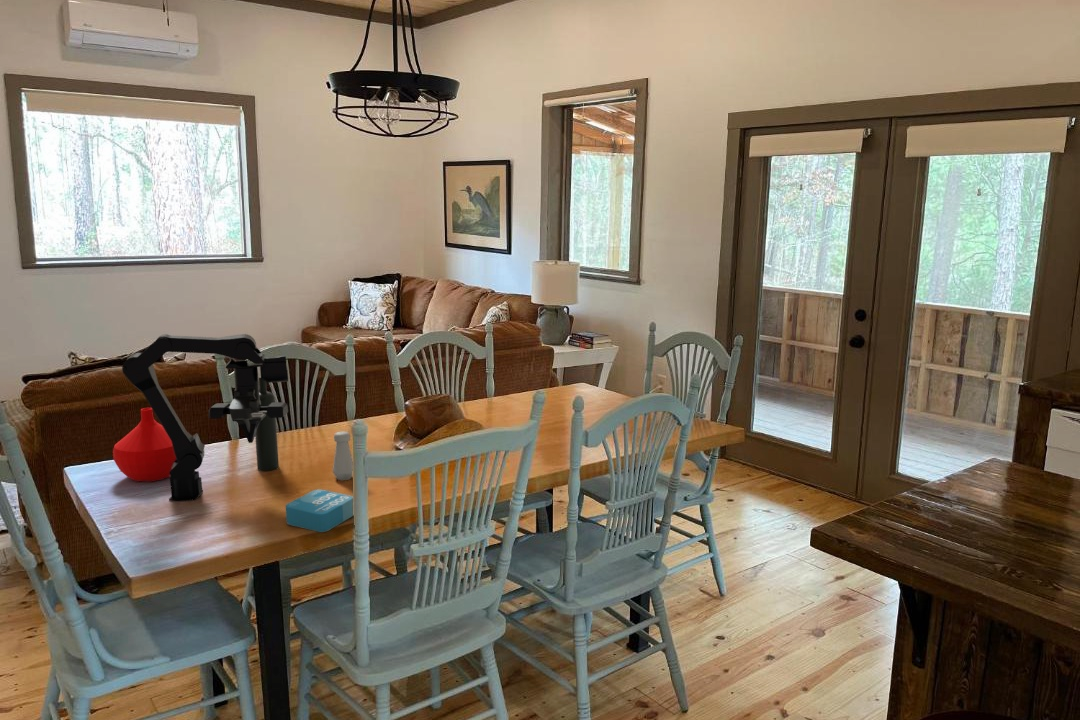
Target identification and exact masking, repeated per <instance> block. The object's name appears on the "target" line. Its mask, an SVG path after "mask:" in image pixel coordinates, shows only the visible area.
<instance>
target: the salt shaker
mask: <svg viewBox="0 0 1080 720" xmlns="http://www.w3.org/2000/svg"><path fill="white" fill-rule="evenodd" d="M333 438H334V440H333V441H334V442H336V443H335V450H334V452H335V453H334V459H333V467H332V473H333V475H334V476H335V479H336V480H337V479H338V480H337V481H343V480H345V481H348V480H351V479H352V477H353V475H352V471H353V465H354V461H353V458H352V453H351V449H350V448H351V447H350V443H349V441H350V440H351V435H350V433H349V431H343V430H342V431H338V432H335V433H334V434H333Z"/></svg>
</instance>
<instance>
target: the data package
mask: <svg viewBox="0 0 1080 720" xmlns="http://www.w3.org/2000/svg"><path fill="white" fill-rule="evenodd" d="M353 502H354V497H353V496H352V495H349V494H344V493H340V492H334V491H330V490H324V489H314V490H311V491H310V492H307V493H306V494H303V495H302V496H300V497H298V498H296V499H294V500H292V501H290V502H288V503H287V504H286V505H285V515H286V517H285V518H286V524H288V525H289V526H293V527H297V528H300V529H301V528H302V529H305V530H309V531H313V532H317V533H325V532H329V531H330V530H332V529H333V528H335V527H337V526H339V525H340V524H342V523H344V522H345V521H347V520H348V519H350V518H352V517H353V516H354V515H353Z"/></svg>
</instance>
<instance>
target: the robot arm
mask: <svg viewBox="0 0 1080 720" xmlns="http://www.w3.org/2000/svg"><path fill="white" fill-rule="evenodd" d="M167 353H190V354H211V355H212V354H213V355H221V356H223V357H227V358H230V359H229V361H228V362H227V363H226V364H225V369H227V370H229V369H233V375H234V388H235V389H234V390H233V398H232V401H231V403H230V402H227V403H224V402H223V403H221V402H220V403H215V404H214V405H212V406H211V407H209V409H208V412H207V413H208V419H210V420H214V419H216V420H217V419H218V420H219V419H220V420H221V419H222V418H223V417H224V416H225V415H230V418H231V421H232V422H235V423H237V424H238V426H240V428H241V430H242V431H243V434H244V435H245V438H246V440H247V442H248V443H249V444H252V443H253V442H254V439H255V434H256V431H257V428H258V425H259V423H260V421H261V420H262V419H263V418H264V417H265V416H266V414H267V415H268V416H269V417H270V418H276V419H278V418H279V419H280V418H284V417H285V416H286V415H287V414H288V413H289V406H288V403H286V402H283V401H282V402H276V401H275V403H271V404H270V405H269V406H260V405H261V401H260V397H259V389H260V385H259V377H258V367H260V373H261V379H263V381H266V384H269V383H282V382H283V383H284V382H285V383H286V382H289V373H288V371H289V370H288V365H287V355H277V356H265V354H264V353H263V352H262V351H261V350H260V349H259V348H258V347H257V342H256V339H255V338H254V337H253V336H251V335H250V334H247V333H243V334H233V335H228V336H222V337H206V336H189V335H188V336H186V335H185V336H184V335H169V334H167V333H166V334H161V335H159V336H158V337H157V338H156V340H155V341H153V342H152V343H151V344H150V345H149V346H147V347H146V348H145V349H144V350H143V351H141V352H135V353H132V354H131V355H129V357H127V359H125V361H124V362H123V363H122V367H121V370H122V373H123V375H124V377H125V378H126V379H127V380H128V381H129V382H130V384H132V385H133V386H134V387H135V388H136V389H137V390H138V391H140V392H141V393H142V394H143V396H144V397H145V400H146V401H147V403H148V404H149V406H150V408H152V409H153V414H154V415H155V416H156V418H157V419H158V421H159V424H161V425H162V426H163V428H164V429H165V431H166V433H167V434H168V436H169V438H170V439H171V442H172V445H173V449H174V453H175V456H176V460H175V461H174V462H173V465H172V467H171V470H170V472H169V474H170V477H169V483H170V485H169V486H170V495H171V496H170V497H169V498H168V501H170V502H175V501H179V502H180V501H182V502H183V501H196V500H197V498H198V497H200V495H201V494H202V493H204V490H203V481H202V477H201V476H200V472H199V471H198V469H199V468H200V467H201V465H202V463H203V460H204V457H205V447H206V445H205V444H204V443H202V441H201V440H200V437H199V433H197V432H196V433H195V434H193V435H192V434H190V433H189V432H188V431H187V430H186V428H185V426H184V425H183V423H182V421H181V419H180V418H179V416H178V414H177V413H176V411H175V409H174V408H173V406H172V404H171V403H170V401H169V399H168V397H167V396H166V394H165V392H164V391H163V389H162V387H161V385H160V384H159V380H158V377H157V372H156V369H155V367H154V363H156V362H157V361H158V360H159V359H160V358H162V356H164V355H165V354H167ZM249 361H250V362H249ZM196 470H197V471H196Z"/></svg>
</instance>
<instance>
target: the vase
mask: <svg viewBox="0 0 1080 720" xmlns="http://www.w3.org/2000/svg"><path fill="white" fill-rule="evenodd" d="M140 415H141V416H140V417H141V418H140V419H141V420H140V421H139V423H138V424H137V426H135V427H134V428H133V429H132V430H131V431H129V433H127V434H126V435H125V436H123V437H122V438H121V439H120V440H119V441H118V442H117V443H115V444H114V447H113V448H112V457H113V461H114V463H115V464H116V466H117V468H118V469H119V471H120V472H121V473H122V474H124V475H125V476H126V477H127V478H129V479H131V480H132V481H135V482H139V481H151V482H157V481H161V479H162V480H164V478H165V479H168V478H170V474H169V472H170V470H171V467H172V465H173V462H174V461H175V460H176V456H175V453H174V449H173V445H172V442H171V439H170V438H169V436H168V434H167V433H166V431H165V429H164V428H163V426H162V424H161V423H160V422H157V420H155V418H154V411H153V409H152V408H151V407H144V408H141V409H140ZM167 477H168V478H167ZM156 480H157V481H156Z"/></svg>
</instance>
